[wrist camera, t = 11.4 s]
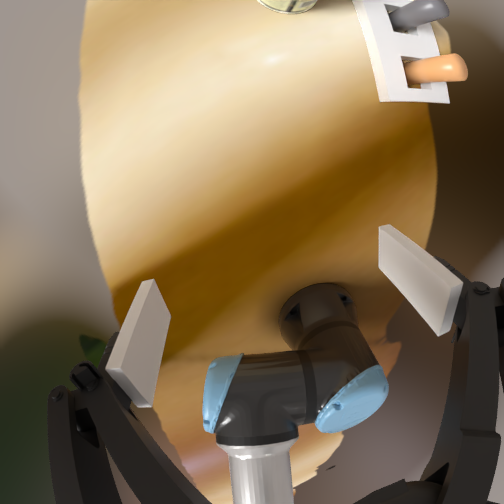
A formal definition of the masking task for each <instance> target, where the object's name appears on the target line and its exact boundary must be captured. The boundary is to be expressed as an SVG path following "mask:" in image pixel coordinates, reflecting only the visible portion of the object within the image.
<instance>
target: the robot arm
mask: <svg viewBox="0 0 504 504" xmlns="http://www.w3.org/2000/svg"><path fill="white" fill-rule="evenodd" d="M379 269H380V270H381V271H382V272H383V273H384V274H385V275H386V276H387V277H388V278H389V279H390V280H391V282H392V283H393V284H394V285H395V286H396V287H397V288H398V289H399V291H400V292H401V293H402V294H403V295H404V296H405V297H406V298H407V300H408V301H409V302H410V303H411V304H412V305H413V307H414V308H415V309H416V310H417V311H418V312H419V314H420V315H421V316H422V317H423V318H424V320H425V321H426V322H427V323H428V325H429V326H430V327H431V328H432V330H433V331H434V332H435V333H436V335H437V336H440V335H442V334H444V333H446V332H448V331H450V328H451V325H452V322H454V323H455V324H456V325H457V327H456V330H455V333H454V336H453V339H452V342H451V343H453V342H454V340H455V342H454V353H453V362H452V370H451V377H450V383H449V389H448V395H447V400H446V405H445V410H444V414H443V419H442V422H441V427H440V431H439V434H438V438H437V441H436V444H435V448H434V451H433V454H432V457H431V459H430V461H429V463H428V464H427V466H426V468H425V470H424V472H423V474H422V476H421V479H420V481H411V482H405V479H402V480H400V481H398V482H395V483H393V484H391V485H388V486H386V487H384V488H381V489H379V490H376V491H374V492H372V493H371V494H369V495H367V496H366V497H364V498H362V499H361V500H359V501H357V502H355V503H354V504H498V503H495V502H490V501H487V499H488V495H489V492H490V489H491V485H492V482H493V478H494V474H495V470H496V466H497V461H498V456H499V451H500V445H501V436H500V434H498V433H496V431H495V427H496V419H497V408H498V395H499V372H500V376H501V381H502V386H503V392H504V278H503V279H502V281H501V284H500V287H497V288H490V287H489V286H488V285H487V284H485V283H483V282H472V283H471V282H470V281H469V280H468V279H467V278H465V276H463V275H462V274H461V273H460V272H459V271H457V270H455V268H454V267H453V266H450V264H449V263H447V262H446V261H445V260H444V259H441V258H439V257H437V256H434V257H432V256H431V255H429V253H427V252H426V251H425V250H423V249H422V248H421V247H420V246H418V245H417V244H416V243H414V242H413V241H412V240H410V239H409V238H408V237H406V236H405V235H404V234H402V233H401V232H400V231H398V230H397V229H395V228H394V227H393V226H391V225H390V224H388V225H384V226H380V227H379ZM170 319H171V315H170V313H169V311H168V309H167V307H166V305H165V302H164V300H163V298H162V296H161V294H160V291H159V289H158V287H157V285H156V282H155V280H154V279H151V280H147V281H142V283H141V285H140V287H139V290H138V292H137V294H136V296H135V298H134V300H133V303H132V305H131V307H130V309H129V312H128V314H127V316H126V318H125V321H124V323H123V326H122V328H121V330H120V332H115V333H114V335H113V336H112V337H111V338H110V339H109V342H108V344H107V346H106V349H105V351H104V354H103V356H102V358H101V361H100V363H99V366H98V368H97V369H96V367H95V366H94V365H93V364H92V362H90V361H82V362H80V363H78V364H77V365H76V366H75V367H74V368H73V369H72V370H71V372H70V380H71V381H72V383H73V384H74V385H75V386H76V387H77V388H78V389H77V390H74V391H69V390H68V389H67V388H66V387H65V386H64V385H59V386H57V387H55V388H53V390H51V392H50V394H49V395H48V405H47V414H48V415H47V424H48V447H49V459H50V469H51V476H52V483H53V489H54V495H55V500H56V504H122V502H121V499H120V496H119V493H118V491H117V488H116V485H115V481H114V478H113V475H112V471H111V468H110V464H109V461H108V457H107V453H106V449H105V446H106V448H107V450H108V452H109V453H110V455H111V457H112V459H113V460H114V462H115V464H116V465H117V467H118V469H119V471H120V472H121V474H122V475H123V477H124V479H125V480H126V482H127V483H128V485H129V486H130V488H131V489H132V491H133V492H134V494H135V495H136V497H137V498H138V499H139V501H140V502H141V504H212V503H211V502H209V501H208V500H207V499H206V498H205V497H204V496H203V495H202V494H201V493H200V492H199V491H198V490H197V489H196V488H195V487H194V486H193V485H192V484H191V483H190V482H189V480H187V478H186V477H185V476H184V475H183V474H182V473H181V472H180V471H179V470H178V468H177V467H176V466H175V465H174V464H173V463H172V462H171V460H170V459H169V458H168V457H167V455H166V454H165V453H164V452H163V451H162V449H161V448H160V447H159V446H158V444H157V443H156V442H155V441H154V439H153V438H152V436H151V435H150V434H149V432H148V431H147V430H146V428H145V427H144V426H143V424H142V423H141V421H140V420H139V419H138V417H137V416H136V414H135V413H134V411H133V410H132V409H131V408H130V404H131V401H132V402H133V403H134V404H135V405H136V406H137V407H152V404H153V399H154V393H155V388H156V383H157V378H158V373H159V368H160V363H161V358H162V354H163V349H164V344H165V340H166V336H167V331H168V327H169V323H170ZM279 327H280V331H281V335H282V337H283V339H284V340H285V342H286V343H287V344H288V345H289V347H290V348H291V349H292V350H293V351H284V352H275V353H264V354H250V355H244V353H241V354H240V355H234V356H224V357H218V358H216V359H214V360H213V361H212V362H211V364H210V366H209V368H208V371H207V376H206V381H205V387H204V396H203V426H204V429H205V431H207V432H210V433H214V432H215V433H216V443H217V445H218V446H219V447H220V448H222V449H223V450H224V451H226V452H227V454H228V457H229V467H230V477H231V486H232V495H233V504H294V500H293V488H292V476H291V465H290V454H289V449H290V447H291V446H292V445H293V444H294V443H295V442H296V441H297V440H298V438H299V434H298V425H304V424H310V423H315V425H316V427H317V428H318V429H319V430H320V431H321V432H323V433H326V432H327V433H335V432H340V431H343V430H346V429H348V428H350V427H353V426H354V425H357V424H358V423H360V422H362V421H363V420H365V419H366V418H368V417H369V416H370V415H372V414H373V413H374V412H375V411H376V410H377V409H378V408H379V407H380V406H381V405H382V404H383V402H384V401H385V399H386V397H387V395H388V390H389V385H388V382H387V380H386V377H385V375H384V372H383V368H382V367H381V366H380V365H379V363H378V361H377V359H376V358H375V356H374V354H373V352H372V350H371V349H370V347H369V345H368V343H367V342H366V340H365V338H364V336H363V335H362V333H361V331H360V330H359V327H358V319H357V310H356V306H355V303H354V301H353V299H352V298H351V296H350V295H349V293H348V292H347V291H346V290H345V289H344V288H342V287H340V286H338V285H335V284H328V283H323V284H316V285H312V286H309V287H306V288H304V289H302V290H300V291H299V292H297V293H296V294H294V295H293V296H292V297H291V298H290V299H289V300H288V301H287V302H286V303H285V305H284V306H283V308H282V310H281V312H280V315H279Z"/></svg>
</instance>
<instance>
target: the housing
mask: <svg viewBox="0 0 504 504" xmlns="http://www.w3.org/2000/svg"><path fill="white" fill-rule="evenodd" d="M352 2H353V5H354V7H355V10H356V13H357V16H358V19H359V22H360V25H361V28H362V31H363V34H364V38H365V41H366V44H367V48H368V52H369V55H370V59H371V63H372V67H373V72H374V76H375V80H376V85H377V90H378V95H379V100H380V102H432V103H450V101H449V96H448V89H447V84H446V82H432V83H421V89H415V88H408V86H407V81H406V76H405V72H404V68H403V63H402V60H410V61H415V60H420V59H425V58H430V57H435V56H440V53H439V49H438V46H437V42H436V39H435V36H434V32H433V29H432V26H431V23H430V22H429V23H426V24H423V25H420V26H417V27H414V28H412V29H409V30H407V33H408V34H405V33H399V32H394V31H393V28H392V25H391V22H390V19H389V16H388V13H387V11H394V10H396V9H398V8H400V7H402V6H404V5H406V4H408V3H410V2H412V1H411V0H352Z"/></svg>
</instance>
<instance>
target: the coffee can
mask: <svg viewBox="0 0 504 504" xmlns="http://www.w3.org/2000/svg"><path fill="white" fill-rule="evenodd" d="M257 1H258V2H259V3H260V4H262V5H263V6H264V7H266V8H268V9H270V10H272V11H276V12H279V13H284V14H298V13H302V12H305V11H307V10H309V9H311V8H312V7H313V6H314V5H315V3H316V1H317V0H257Z"/></svg>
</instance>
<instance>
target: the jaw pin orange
mask: <svg viewBox="0 0 504 504" xmlns="http://www.w3.org/2000/svg"><path fill="white" fill-rule="evenodd" d="M403 68H404V72H405V76H406V81H407V84H408V85H412V84H421V83H432V82H447V81H464V80H466V79H467V76H468V70H467V66H466V64H465V62H464V60H463V59H462V58H461V57H460V56H459V55H457V54H447V55H441V56H435V57H430V58H425V59H420V60H415V61H411V62H406V63H403Z"/></svg>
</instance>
